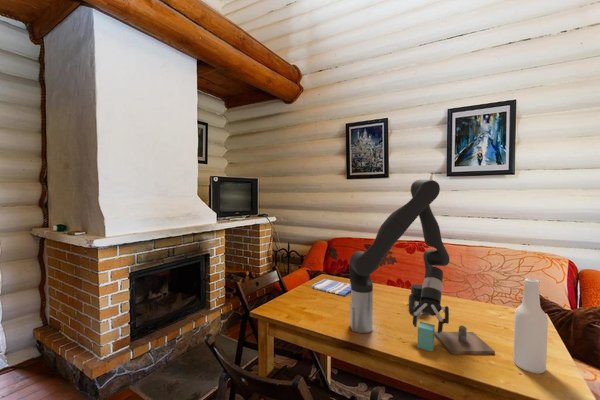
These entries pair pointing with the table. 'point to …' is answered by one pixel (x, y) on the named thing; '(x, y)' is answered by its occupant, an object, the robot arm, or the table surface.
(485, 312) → the table surface
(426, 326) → the tall teal pillar
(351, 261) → the robot arm
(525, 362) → the alcohol
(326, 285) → the dish towel
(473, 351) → the post board
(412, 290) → the ink bottle
